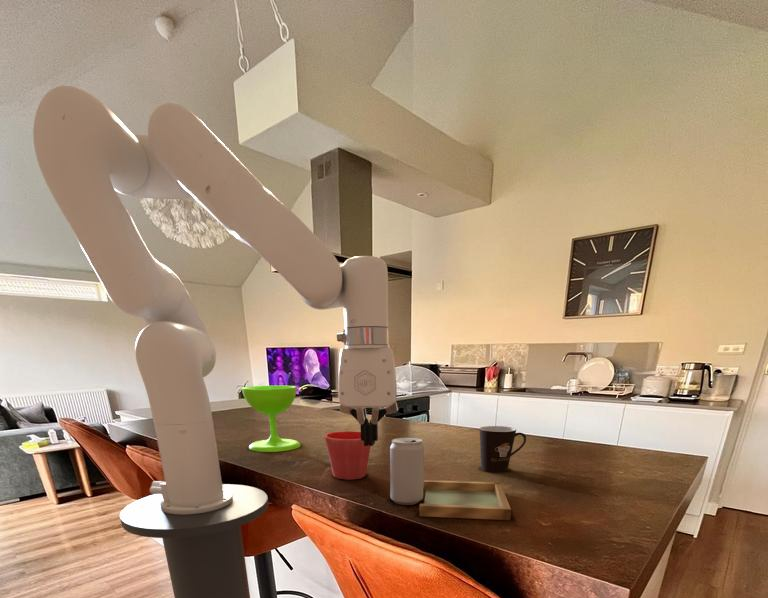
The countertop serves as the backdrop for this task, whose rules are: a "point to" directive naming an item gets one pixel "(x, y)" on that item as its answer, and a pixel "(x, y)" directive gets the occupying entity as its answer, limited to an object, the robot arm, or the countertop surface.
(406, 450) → the beverage can
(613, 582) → the countertop surface
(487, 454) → the coffee mug
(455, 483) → the wooden tray
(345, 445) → the flower pot
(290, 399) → the wineglass
